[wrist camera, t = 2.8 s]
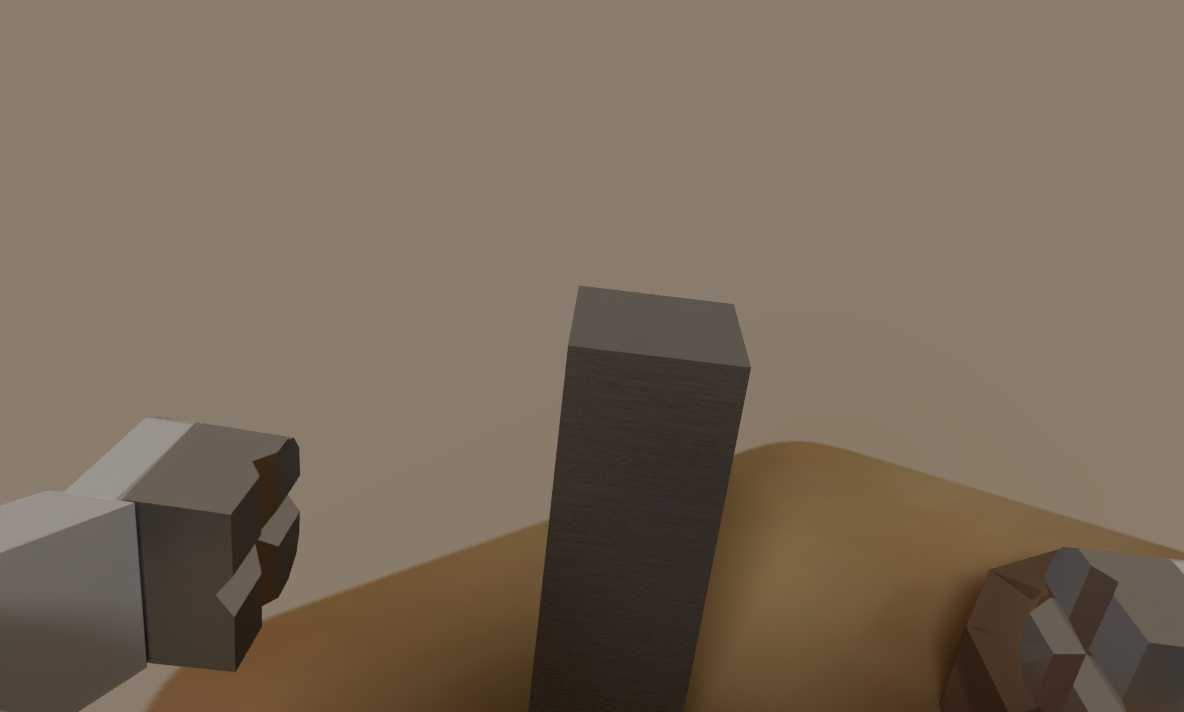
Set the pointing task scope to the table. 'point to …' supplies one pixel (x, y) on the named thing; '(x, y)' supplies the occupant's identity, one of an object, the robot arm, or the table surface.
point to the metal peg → (636, 499)
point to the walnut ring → (997, 641)
